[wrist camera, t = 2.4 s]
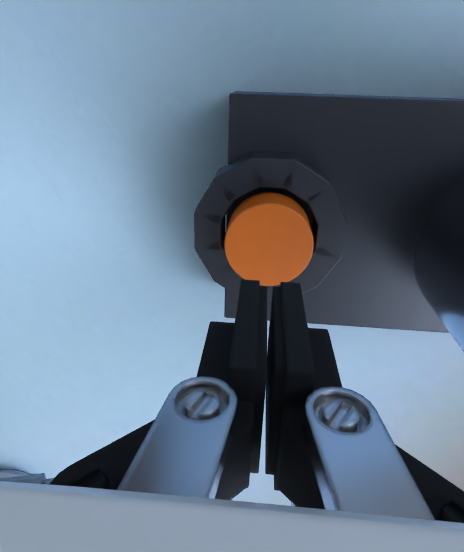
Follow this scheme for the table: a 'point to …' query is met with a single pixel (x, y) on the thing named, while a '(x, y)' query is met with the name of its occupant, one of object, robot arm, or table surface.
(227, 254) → the button
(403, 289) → the kettle base
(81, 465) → the robot arm
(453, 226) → the kettle
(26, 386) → the table surface
